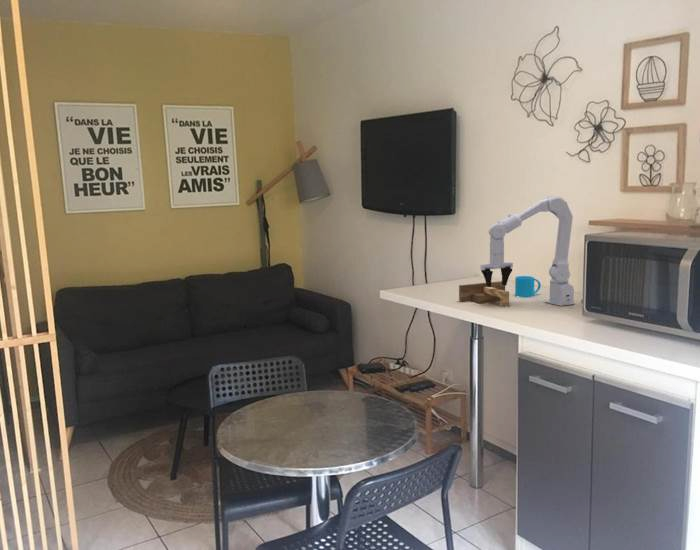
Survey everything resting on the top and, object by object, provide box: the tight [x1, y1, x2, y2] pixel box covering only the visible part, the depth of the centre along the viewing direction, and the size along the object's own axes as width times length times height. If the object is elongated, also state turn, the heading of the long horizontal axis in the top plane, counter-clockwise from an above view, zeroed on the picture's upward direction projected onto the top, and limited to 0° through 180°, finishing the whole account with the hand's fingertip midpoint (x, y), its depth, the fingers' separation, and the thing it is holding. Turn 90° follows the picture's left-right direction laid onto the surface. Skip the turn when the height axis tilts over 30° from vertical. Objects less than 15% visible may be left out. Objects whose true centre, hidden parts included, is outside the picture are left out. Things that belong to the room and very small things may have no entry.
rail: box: [484, 287, 510, 308], centre depth 264 cm, size 14×3×6 cm, turn 21°
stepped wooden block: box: [458, 280, 506, 304], centre depth 270 cm, size 8×22×7 cm, turn 112°
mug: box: [514, 275, 542, 298], centre depth 280 cm, size 12×8×8 cm
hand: (496, 285), depth 263 cm, fingers open, 7 cm apart
